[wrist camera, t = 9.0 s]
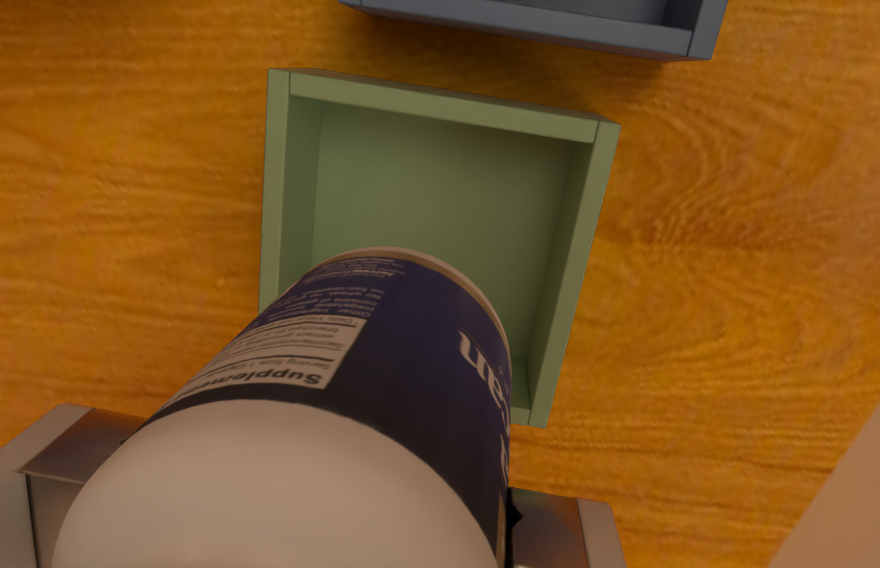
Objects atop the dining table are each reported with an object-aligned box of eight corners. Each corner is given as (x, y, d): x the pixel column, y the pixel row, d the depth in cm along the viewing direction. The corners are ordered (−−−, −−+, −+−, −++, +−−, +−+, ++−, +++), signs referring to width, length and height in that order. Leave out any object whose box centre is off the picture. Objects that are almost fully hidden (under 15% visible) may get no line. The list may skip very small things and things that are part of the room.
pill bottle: (541, 428, 14) (577, 1164, 4) (331, 471, 15) (29, 1116, 6) (470, 207, 12) (304, 655, 3) (242, 276, 13) (-372, 740, 4)
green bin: (598, 113, 22) (622, 124, 18) (538, 369, 26) (546, 430, 21) (311, 67, 22) (267, 67, 18) (295, 326, 26) (254, 377, 22)
